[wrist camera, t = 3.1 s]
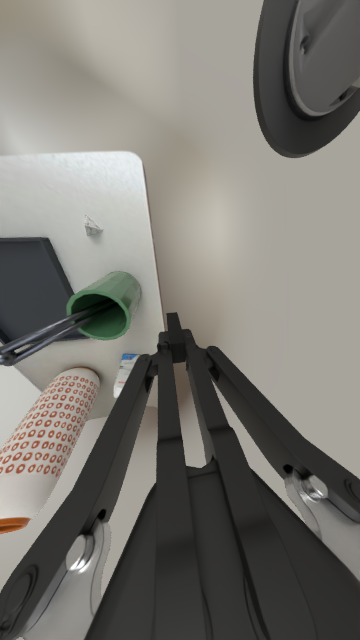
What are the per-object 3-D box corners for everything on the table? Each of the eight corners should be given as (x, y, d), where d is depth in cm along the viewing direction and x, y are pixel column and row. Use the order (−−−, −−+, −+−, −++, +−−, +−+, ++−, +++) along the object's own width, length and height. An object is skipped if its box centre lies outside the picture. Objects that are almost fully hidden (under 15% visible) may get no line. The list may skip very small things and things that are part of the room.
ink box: (122, 363, 44) (112, 398, 34) (123, 352, 42) (112, 387, 32) (148, 365, 46) (145, 398, 36) (150, 355, 44) (147, 388, 34)
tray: (-78, 240, 23) (-98, 239, 21) (48, 237, 25) (40, 237, 23) (12, 341, 34) (5, 346, 33) (92, 334, 37) (89, 338, 35)
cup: (104, 265, 29) (64, 281, 17) (144, 278, 31) (134, 299, 19) (101, 301, 32) (68, 334, 20) (137, 309, 35) (126, 344, 23)
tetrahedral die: (103, 239, 27) (103, 240, 25) (87, 235, 26) (86, 236, 23) (102, 219, 25) (103, 219, 23) (85, 214, 24) (83, 213, 22)
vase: (83, 356, 40) (-31, 523, 16) (112, 378, 47) (64, 518, 23) (49, 372, 42) (-100, 548, 18) (83, 391, 48) (8, 536, 24)
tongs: (86, 287, 29) (-22, 355, 12) (136, 285, 31) (106, 344, 13) (89, 296, 31) (-3, 371, 13) (137, 294, 32) (112, 359, 14)
